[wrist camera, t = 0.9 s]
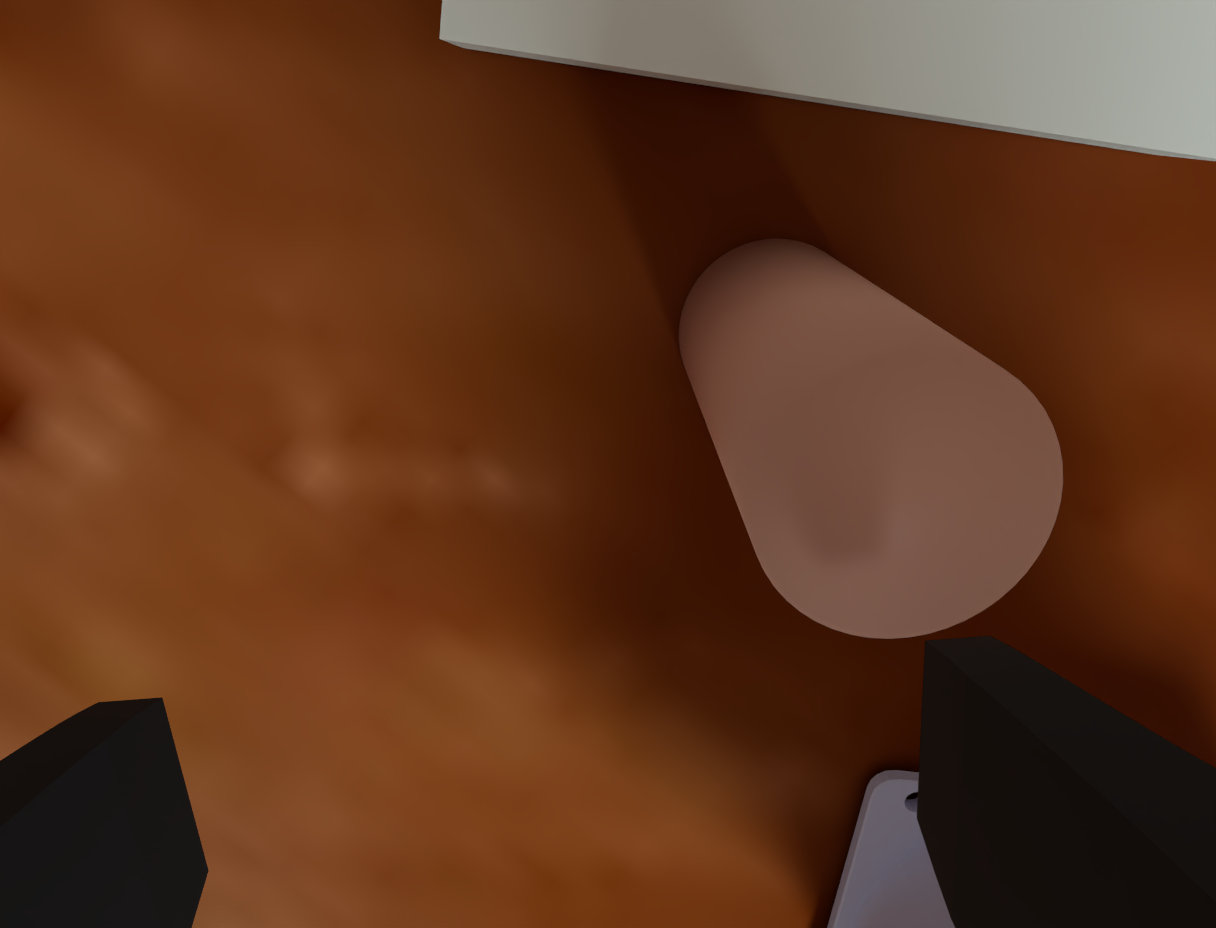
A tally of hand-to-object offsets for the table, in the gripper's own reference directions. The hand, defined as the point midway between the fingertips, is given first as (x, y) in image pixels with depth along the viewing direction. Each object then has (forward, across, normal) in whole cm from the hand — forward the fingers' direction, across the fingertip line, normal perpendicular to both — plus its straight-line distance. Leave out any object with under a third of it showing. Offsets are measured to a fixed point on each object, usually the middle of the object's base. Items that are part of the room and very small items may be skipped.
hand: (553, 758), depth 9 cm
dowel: (+10, -4, -2) cm, 11 cm away
